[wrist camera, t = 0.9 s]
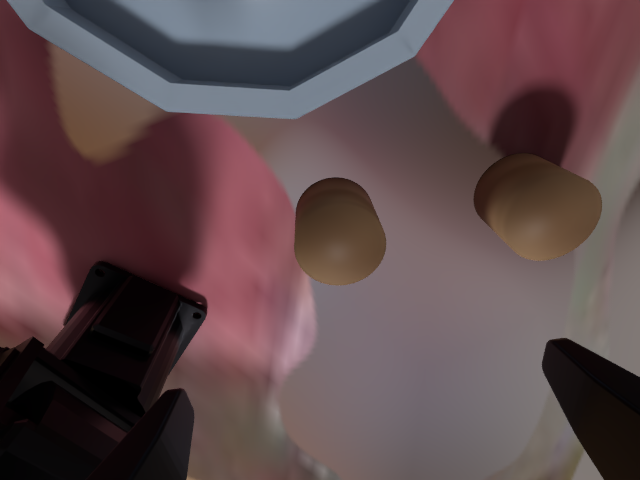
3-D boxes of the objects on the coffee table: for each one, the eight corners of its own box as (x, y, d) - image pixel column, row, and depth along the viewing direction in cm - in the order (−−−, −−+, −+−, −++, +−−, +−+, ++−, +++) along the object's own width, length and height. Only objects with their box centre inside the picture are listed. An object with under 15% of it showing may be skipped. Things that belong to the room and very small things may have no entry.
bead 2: (509, 238, 20) (547, 274, 17) (457, 202, 19) (487, 233, 16) (568, 180, 19) (621, 207, 16) (515, 137, 17) (561, 157, 14)
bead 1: (343, 259, 20) (350, 298, 17) (281, 225, 19) (277, 260, 16) (388, 203, 19) (404, 235, 16) (323, 162, 18) (328, 187, 15)
